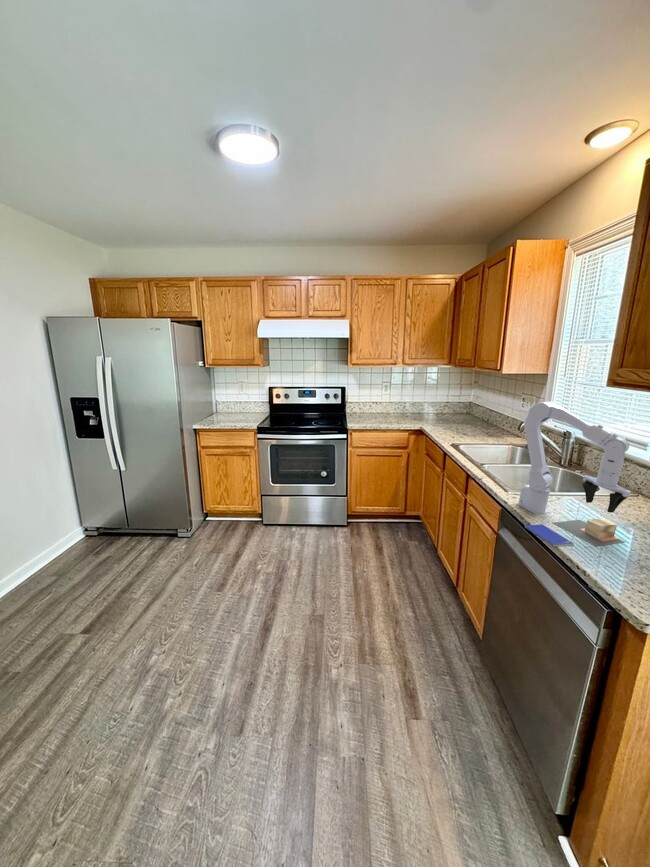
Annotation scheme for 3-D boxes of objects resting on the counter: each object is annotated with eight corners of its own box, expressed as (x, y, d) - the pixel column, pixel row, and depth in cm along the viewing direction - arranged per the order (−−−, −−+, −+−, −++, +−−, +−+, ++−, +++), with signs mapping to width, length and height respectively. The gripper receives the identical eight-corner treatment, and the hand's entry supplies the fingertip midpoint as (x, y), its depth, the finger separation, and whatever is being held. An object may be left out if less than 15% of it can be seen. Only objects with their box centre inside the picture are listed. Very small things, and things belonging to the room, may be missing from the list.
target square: (579, 529, 120) (579, 528, 120) (595, 527, 122) (595, 527, 122) (602, 541, 112) (602, 540, 112) (619, 539, 115) (619, 538, 115)
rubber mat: (551, 523, 124) (551, 522, 124) (579, 520, 128) (579, 519, 128) (595, 547, 109) (595, 546, 109) (625, 543, 113) (625, 542, 113)
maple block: (600, 529, 120) (603, 518, 119) (614, 535, 116) (617, 524, 115) (584, 531, 118) (587, 520, 117) (597, 538, 114) (600, 526, 113)
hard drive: (574, 542, 109) (543, 524, 121) (553, 544, 108) (524, 525, 120) (573, 547, 110) (542, 528, 122) (552, 548, 108) (523, 529, 120)
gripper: (580, 464, 121) (571, 498, 124) (623, 479, 108) (612, 517, 111) (594, 464, 123) (585, 497, 126) (639, 478, 109) (628, 516, 113)
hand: (599, 506), depth 119 cm, fingers open, 7 cm apart
